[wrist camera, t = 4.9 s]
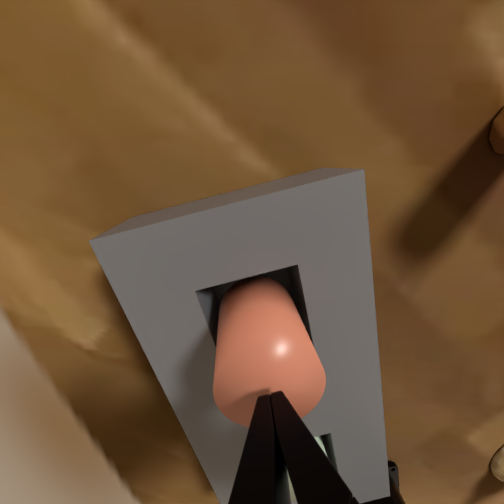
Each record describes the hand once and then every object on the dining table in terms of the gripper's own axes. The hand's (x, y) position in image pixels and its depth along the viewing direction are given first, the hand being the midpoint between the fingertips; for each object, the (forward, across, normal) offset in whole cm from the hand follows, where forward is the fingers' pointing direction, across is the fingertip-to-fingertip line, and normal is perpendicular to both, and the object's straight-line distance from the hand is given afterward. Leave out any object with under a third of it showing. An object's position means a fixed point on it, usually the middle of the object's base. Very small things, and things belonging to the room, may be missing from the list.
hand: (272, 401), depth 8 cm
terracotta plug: (+6, 0, 0) cm, 6 cm away
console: (+10, 0, +6) cm, 11 cm away
